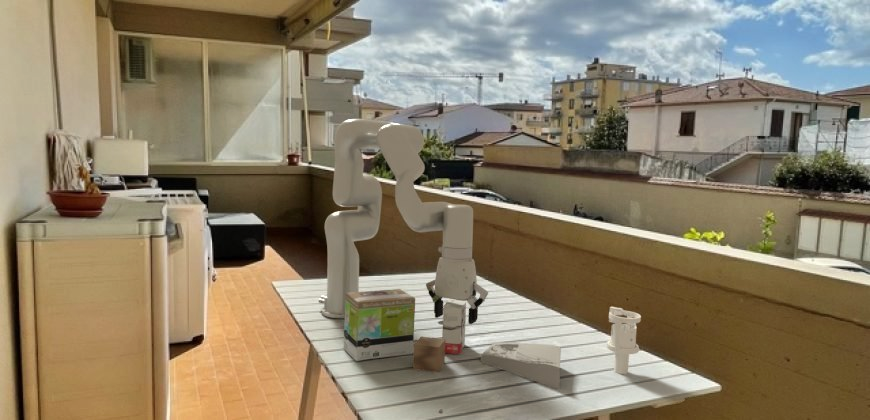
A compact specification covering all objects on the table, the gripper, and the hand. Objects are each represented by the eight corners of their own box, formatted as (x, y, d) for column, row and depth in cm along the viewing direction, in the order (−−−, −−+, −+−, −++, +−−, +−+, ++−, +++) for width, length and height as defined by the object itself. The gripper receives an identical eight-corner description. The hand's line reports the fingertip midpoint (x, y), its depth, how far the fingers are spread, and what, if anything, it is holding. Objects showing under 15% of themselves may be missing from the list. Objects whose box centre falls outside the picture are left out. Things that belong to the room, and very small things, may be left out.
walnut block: (413, 369, 128) (413, 344, 128) (420, 360, 134) (421, 336, 134) (438, 372, 127) (439, 347, 126) (444, 363, 133) (445, 339, 132)
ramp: (465, 353, 141) (465, 332, 141) (516, 345, 148) (517, 325, 148) (532, 397, 116) (533, 372, 116) (589, 385, 124) (591, 361, 123)
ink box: (460, 355, 138) (461, 309, 137) (440, 353, 139) (442, 307, 138) (465, 344, 147) (467, 300, 146) (447, 342, 148) (448, 298, 147)
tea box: (356, 363, 131) (357, 301, 130) (343, 349, 140) (344, 291, 138) (414, 354, 138) (416, 296, 137) (397, 342, 147) (399, 287, 145)
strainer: (612, 363, 136) (616, 303, 135) (641, 371, 132) (645, 309, 130) (600, 371, 131) (604, 309, 129) (630, 380, 126) (634, 315, 125)
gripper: (420, 251, 142) (418, 317, 143) (481, 259, 133) (479, 329, 135) (435, 248, 148) (433, 311, 150) (494, 255, 140) (492, 321, 141)
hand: (455, 319), depth 142 cm, fingers open, 9 cm apart
